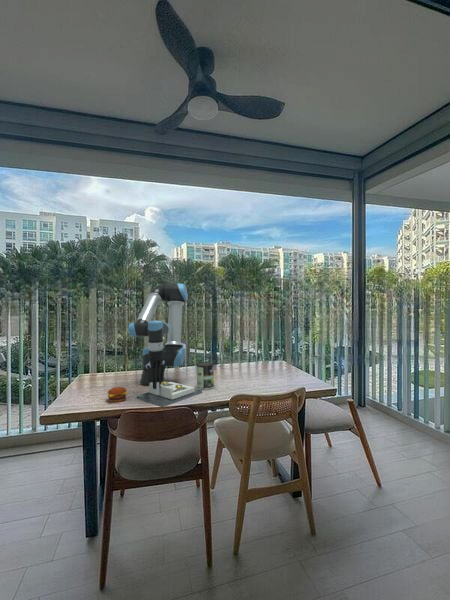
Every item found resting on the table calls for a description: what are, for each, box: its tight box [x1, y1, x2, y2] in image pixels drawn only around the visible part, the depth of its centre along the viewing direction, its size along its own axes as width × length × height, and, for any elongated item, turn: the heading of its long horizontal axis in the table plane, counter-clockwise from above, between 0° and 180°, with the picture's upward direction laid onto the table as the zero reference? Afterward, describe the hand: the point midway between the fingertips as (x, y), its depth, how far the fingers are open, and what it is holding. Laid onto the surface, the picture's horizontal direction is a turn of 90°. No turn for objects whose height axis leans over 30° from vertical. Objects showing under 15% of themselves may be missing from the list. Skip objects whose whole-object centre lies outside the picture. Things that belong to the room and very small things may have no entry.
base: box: [136, 380, 203, 408], centre depth 168 cm, size 22×28×6 cm
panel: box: [147, 381, 195, 400], centre depth 169 cm, size 20×16×5 cm
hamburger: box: [106, 386, 128, 404], centre depth 162 cm, size 9×10×7 cm
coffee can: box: [195, 361, 215, 391], centre depth 182 cm, size 10×10×14 cm
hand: (156, 394), depth 161 cm, fingers closed
